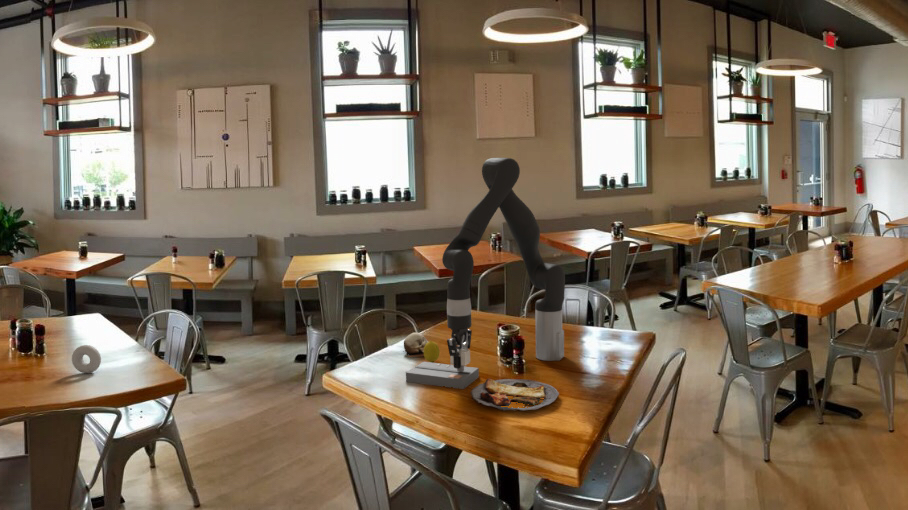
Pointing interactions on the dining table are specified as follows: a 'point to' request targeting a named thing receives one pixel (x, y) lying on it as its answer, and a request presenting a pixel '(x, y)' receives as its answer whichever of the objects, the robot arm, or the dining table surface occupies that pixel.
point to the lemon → (431, 351)
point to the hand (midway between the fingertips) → (460, 365)
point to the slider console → (442, 375)
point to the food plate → (514, 393)
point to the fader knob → (462, 359)
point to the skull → (415, 345)
